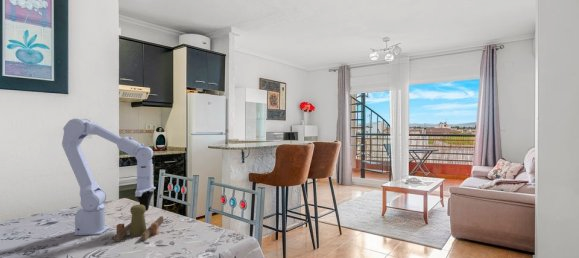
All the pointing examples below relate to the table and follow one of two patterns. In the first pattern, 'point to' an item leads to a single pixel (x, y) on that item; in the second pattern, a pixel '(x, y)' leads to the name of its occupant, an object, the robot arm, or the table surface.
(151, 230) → the guide channel
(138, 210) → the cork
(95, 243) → the table surface
